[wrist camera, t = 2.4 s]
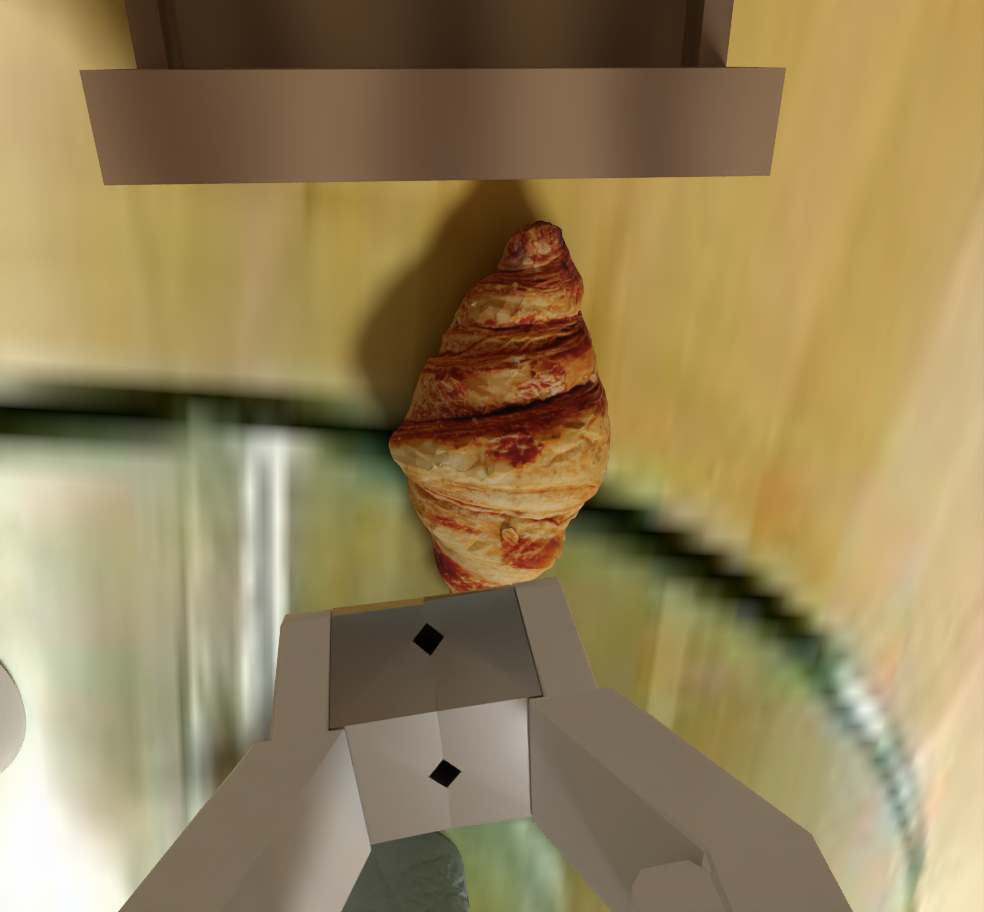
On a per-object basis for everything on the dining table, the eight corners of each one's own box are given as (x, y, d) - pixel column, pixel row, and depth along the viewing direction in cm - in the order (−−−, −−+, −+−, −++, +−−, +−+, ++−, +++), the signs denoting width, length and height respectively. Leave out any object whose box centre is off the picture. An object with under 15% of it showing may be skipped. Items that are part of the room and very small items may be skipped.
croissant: (515, 568, 47) (601, 652, 41) (360, 613, 41) (434, 716, 36) (577, 203, 37) (700, 246, 31) (384, 200, 32) (491, 251, 26)
